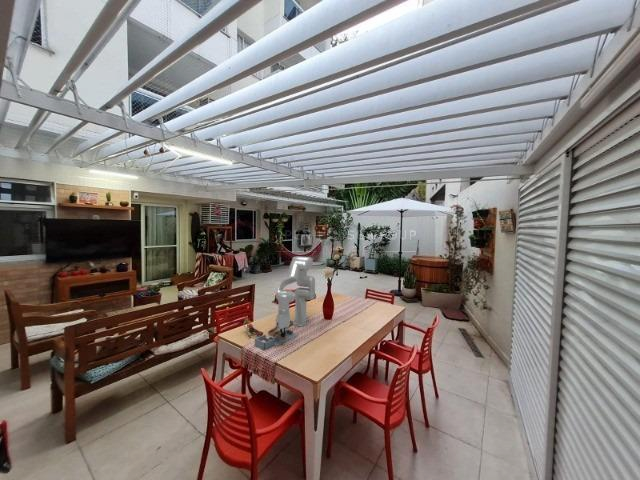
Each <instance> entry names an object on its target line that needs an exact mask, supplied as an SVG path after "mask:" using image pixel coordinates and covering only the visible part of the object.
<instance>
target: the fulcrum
mask: <svg viewBox="0 0 640 480" xmlns="http://www.w3.org/2000/svg"><path fill="white" fill-rule="evenodd" d="M285 336H287V338H286V339H285V340H282V339H280V338H278V337H272V336H270V337H268V339H270V340H272V339H275V346H274V347H277V346H280V345H282V344H284V343H286V342H289V341H291V340H292V339H295V338H297V337H298V335H297V334H295V333H294V331H292V330H290V329H286V331H285Z"/></svg>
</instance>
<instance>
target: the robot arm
mask: <svg viewBox="0 0 640 480" xmlns="http://www.w3.org/2000/svg"><path fill="white" fill-rule="evenodd" d="M313 262H314V260H313V258H312V257H310V256H299V255H298V256H293V257H292V259H291V262H290V264H289V267H288V271H287V275H286V277H285V278H284V279H283V280H282V281H281V282H280V283H279V285H278V286H277V289H276V292H275V293H276V294H275V296H276V297H275V298H276V300H277V301H278V308H277V310H278V311H277V314H276V316H275V317H276V319H275V327H277V330H278V331H281V333H280V334H281V337H283V338H284V337H285V331H286V329H287V328H288V327H289V325H290V321H291V315H290V303H292V302H295V306H294V307H295V310H294V312H295V314H294V320H293V326H296V327H305V326H307V325H308V323H309V322H308V320H309V319H310V316H307V301H306V300H308V301H309V300H310V301H312V300H314V299H315V296H316V279H315V276H314V275H313V276H312V275H307V274H308V273H307V272H308V271H309V270H310V269H311V267H312V266H313ZM293 283H296V284H297V286H298V287H296V288H295V289H294V291H293V290H292V291H291V290H284V288H286V286H288V285H290V284H291V285H292V284H293ZM288 329H289V328H288ZM288 329H287V330H288Z"/></svg>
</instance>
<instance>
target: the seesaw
mask: <svg viewBox="0 0 640 480" xmlns="http://www.w3.org/2000/svg"><path fill="white" fill-rule="evenodd" d="M293 322H294V320H290V325H289V327H288V328H287V330H289V329H290V328H291V327H293V326H294V324H293ZM267 334H268V335H269V336H270V337H271V338H272V337H278V338H280V339H282V340H285V339H286V338H287V336H285V337H284V338H283V337H281V331H278V330H277V327H276V326H274V327H273V328H271V329H269V330H268V331H267Z"/></svg>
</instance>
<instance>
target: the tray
mask: <svg viewBox="0 0 640 480" xmlns="http://www.w3.org/2000/svg"><path fill="white" fill-rule="evenodd" d="M262 340H265V341H266V342H263V341H262ZM254 346H255V347H256V348H258V349H261V350H263V351H266V349H267V350H269V349H270V348H273V347H276V346H275V339H272V340H270V339H269V337H267V335H266V334H263V335H262V336H258V337H254Z"/></svg>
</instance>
